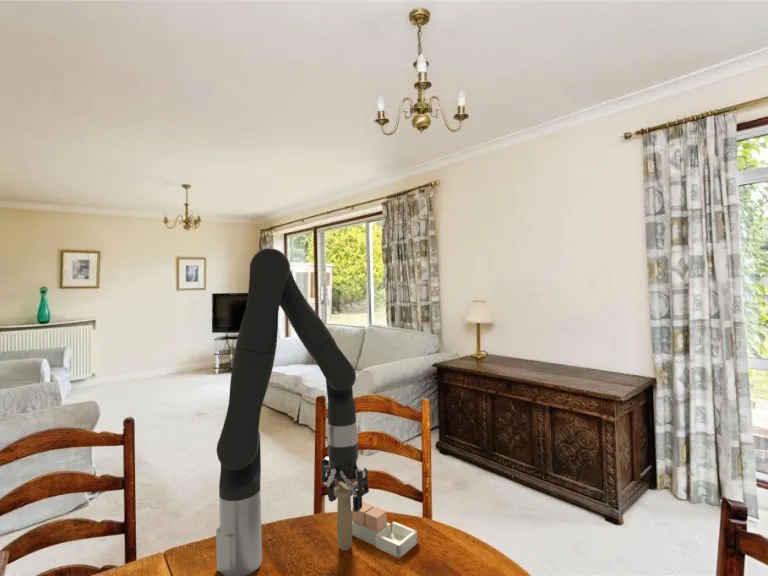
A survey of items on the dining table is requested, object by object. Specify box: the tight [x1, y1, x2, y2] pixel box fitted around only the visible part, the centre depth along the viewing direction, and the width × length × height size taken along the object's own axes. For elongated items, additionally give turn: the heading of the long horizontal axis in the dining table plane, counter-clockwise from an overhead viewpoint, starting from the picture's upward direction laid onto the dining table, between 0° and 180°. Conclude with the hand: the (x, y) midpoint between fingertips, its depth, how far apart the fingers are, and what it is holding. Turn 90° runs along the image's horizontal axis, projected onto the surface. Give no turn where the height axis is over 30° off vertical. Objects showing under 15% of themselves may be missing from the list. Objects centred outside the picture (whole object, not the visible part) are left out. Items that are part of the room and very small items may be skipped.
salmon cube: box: [365, 506, 388, 532], centre depth 107 cm, size 4×4×4 cm
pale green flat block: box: [352, 520, 392, 547], centre depth 109 cm, size 6×9×3 cm, turn 51°
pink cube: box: [351, 501, 375, 526], centre depth 110 cm, size 4×4×4 cm
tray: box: [375, 521, 418, 559], centre depth 104 cm, size 8×7×3 cm
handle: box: [334, 481, 353, 552], centre depth 103 cm, size 5×6×15 cm
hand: (344, 505), depth 104 cm, fingers open, 8 cm apart
